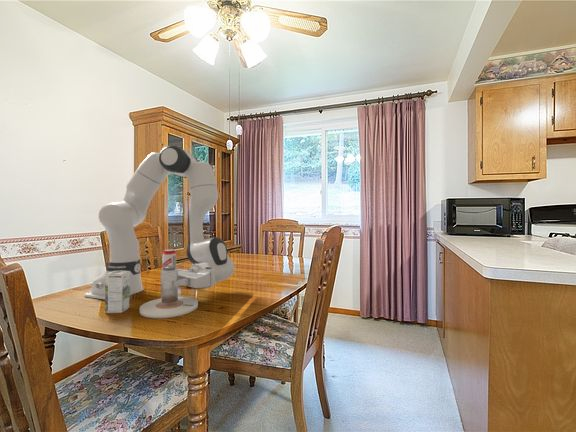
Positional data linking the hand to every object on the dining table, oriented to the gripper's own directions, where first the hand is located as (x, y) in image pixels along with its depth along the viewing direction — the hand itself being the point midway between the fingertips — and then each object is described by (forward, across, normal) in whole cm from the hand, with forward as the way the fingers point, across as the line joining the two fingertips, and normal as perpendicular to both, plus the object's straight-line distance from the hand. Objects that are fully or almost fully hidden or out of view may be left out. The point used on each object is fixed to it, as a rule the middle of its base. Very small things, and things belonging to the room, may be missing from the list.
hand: (167, 282), depth 104 cm
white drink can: (-1, 0, +7) cm, 7 cm away
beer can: (-26, -38, +11) cm, 47 cm away
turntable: (-1, 0, +9) cm, 9 cm away
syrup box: (+10, -14, +11) cm, 20 cm away
